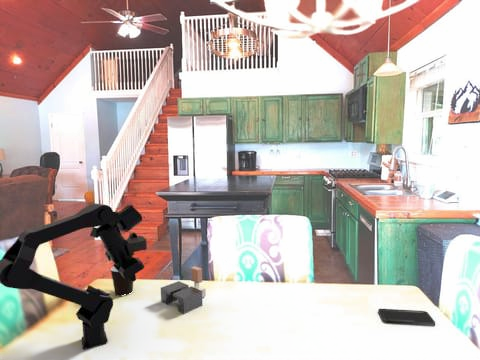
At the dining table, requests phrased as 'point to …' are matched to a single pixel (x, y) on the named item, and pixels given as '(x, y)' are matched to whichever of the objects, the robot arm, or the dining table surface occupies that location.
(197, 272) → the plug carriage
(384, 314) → the phone
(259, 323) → the dining table surface
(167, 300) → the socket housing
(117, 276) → the coffee mug
